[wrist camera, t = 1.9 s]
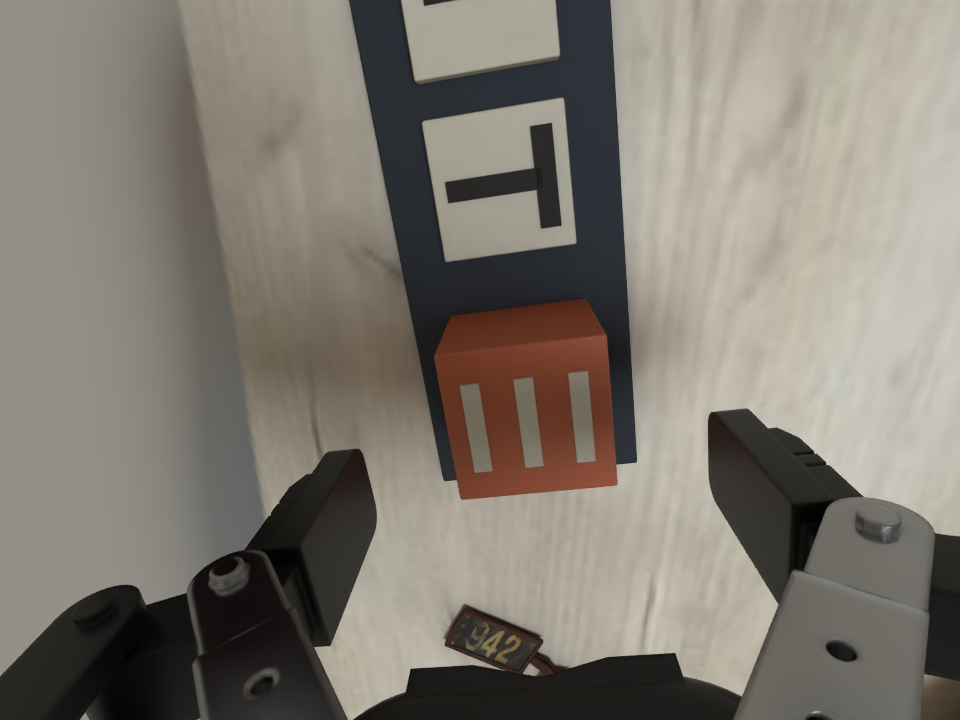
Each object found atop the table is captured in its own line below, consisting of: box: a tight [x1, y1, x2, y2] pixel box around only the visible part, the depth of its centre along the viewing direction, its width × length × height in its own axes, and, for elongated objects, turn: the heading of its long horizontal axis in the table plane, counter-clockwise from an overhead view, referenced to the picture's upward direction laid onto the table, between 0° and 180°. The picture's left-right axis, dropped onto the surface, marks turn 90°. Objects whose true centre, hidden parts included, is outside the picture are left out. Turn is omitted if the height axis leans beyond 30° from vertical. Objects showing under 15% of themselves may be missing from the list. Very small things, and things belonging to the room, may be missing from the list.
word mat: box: [349, 0, 637, 481], centre depth 16 cm, size 18×7×1 cm, turn 8°
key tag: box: [445, 608, 558, 675], centre depth 22 cm, size 8×3×1 cm, turn 50°
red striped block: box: [434, 298, 617, 500], centre depth 16 cm, size 4×4×4 cm
